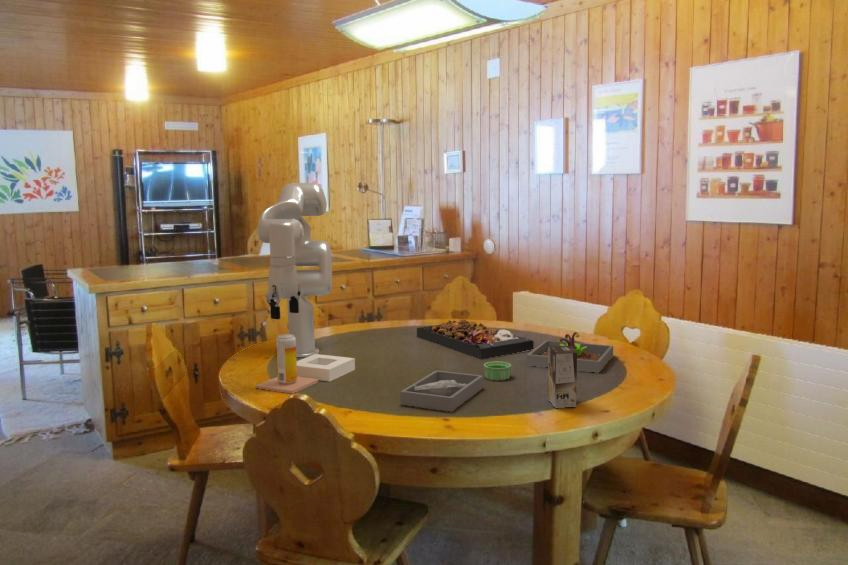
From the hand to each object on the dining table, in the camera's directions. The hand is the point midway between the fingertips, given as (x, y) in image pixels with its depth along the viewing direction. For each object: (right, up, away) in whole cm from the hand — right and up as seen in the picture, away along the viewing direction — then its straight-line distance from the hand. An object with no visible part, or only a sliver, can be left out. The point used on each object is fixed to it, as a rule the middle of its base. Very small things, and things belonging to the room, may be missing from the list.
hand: (285, 315), depth 222 cm
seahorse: (+50, -24, -10) cm, 56 cm away
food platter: (+63, -15, +59) cm, 87 cm away
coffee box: (+83, -25, -18) cm, 89 cm away
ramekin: (+68, -21, +10) cm, 71 cm away
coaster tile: (0, -22, +3) cm, 22 cm away
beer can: (0, -21, +3) cm, 22 cm away
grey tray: (+49, -24, -10) cm, 56 cm away
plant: (+96, -18, +30) cm, 102 cm away
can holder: (+9, -20, +17) cm, 28 cm away
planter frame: (+96, -18, +29) cm, 102 cm away
